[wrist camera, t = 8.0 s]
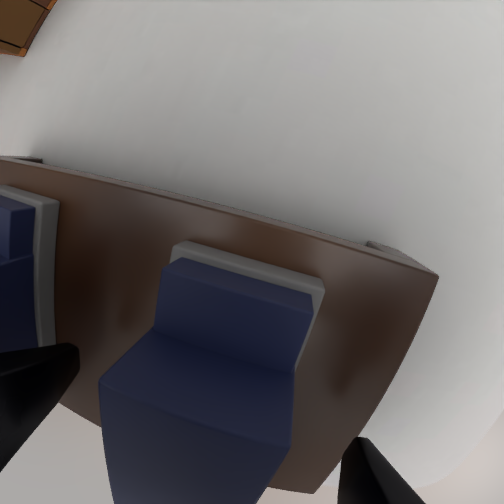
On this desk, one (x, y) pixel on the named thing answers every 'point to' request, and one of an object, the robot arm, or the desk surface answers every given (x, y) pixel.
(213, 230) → the shoe display tray
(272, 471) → the trainer
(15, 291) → the trainer
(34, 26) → the wooden box with plunger
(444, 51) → the desk surface
